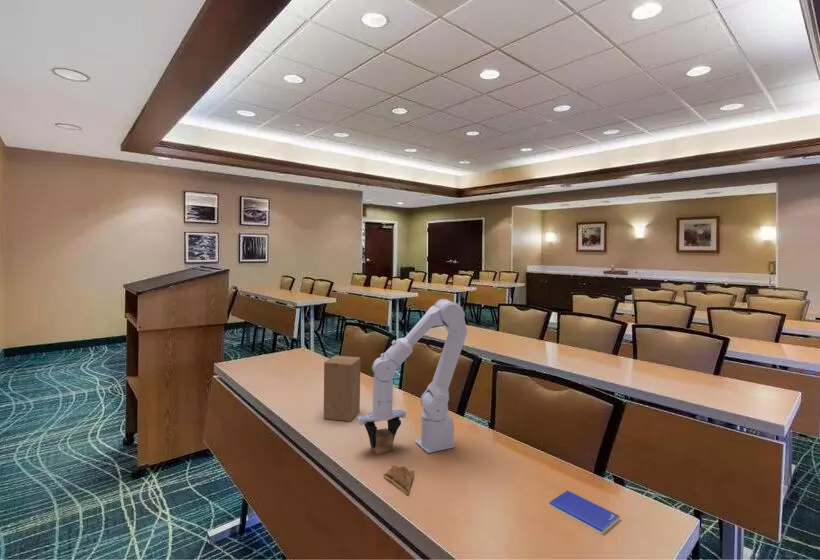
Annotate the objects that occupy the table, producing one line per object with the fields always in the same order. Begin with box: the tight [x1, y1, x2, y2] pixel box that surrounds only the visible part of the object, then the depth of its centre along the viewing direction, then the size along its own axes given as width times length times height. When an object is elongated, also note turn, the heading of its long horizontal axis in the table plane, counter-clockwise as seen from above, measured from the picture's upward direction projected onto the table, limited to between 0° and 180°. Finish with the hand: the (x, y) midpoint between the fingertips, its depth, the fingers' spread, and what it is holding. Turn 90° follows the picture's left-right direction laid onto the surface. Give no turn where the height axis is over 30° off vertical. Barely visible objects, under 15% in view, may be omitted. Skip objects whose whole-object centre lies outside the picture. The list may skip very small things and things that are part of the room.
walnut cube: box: [370, 427, 394, 455], centre depth 120 cm, size 5×5×5 cm
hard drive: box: [548, 490, 621, 536], centre depth 93 cm, size 2×8×12 cm
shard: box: [383, 465, 415, 495], centre depth 104 cm, size 11×8×2 cm
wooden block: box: [323, 355, 361, 423], centre depth 144 cm, size 10×10×20 cm
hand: (381, 444), depth 120 cm, fingers closed on walnut cube, 5 cm apart
